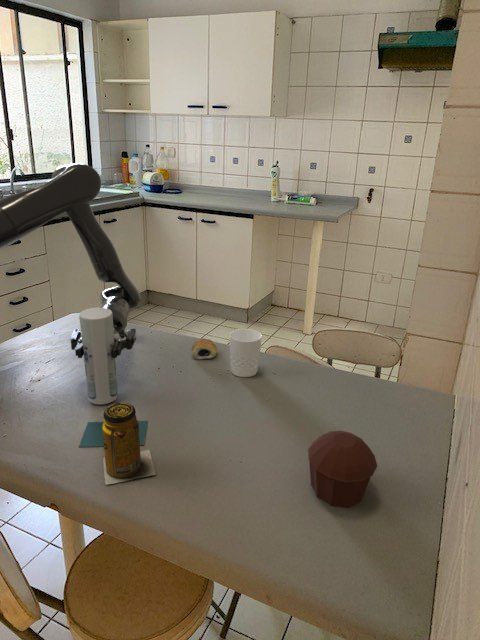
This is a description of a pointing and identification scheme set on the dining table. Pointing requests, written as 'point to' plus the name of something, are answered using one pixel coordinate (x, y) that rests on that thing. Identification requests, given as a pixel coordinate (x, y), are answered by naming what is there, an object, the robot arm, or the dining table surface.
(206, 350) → the pastry
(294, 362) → the dining table surface
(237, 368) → the white cup
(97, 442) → the mat
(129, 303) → the robot arm
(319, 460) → the muffin
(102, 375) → the spray can
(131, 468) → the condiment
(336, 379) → the dining table surface
